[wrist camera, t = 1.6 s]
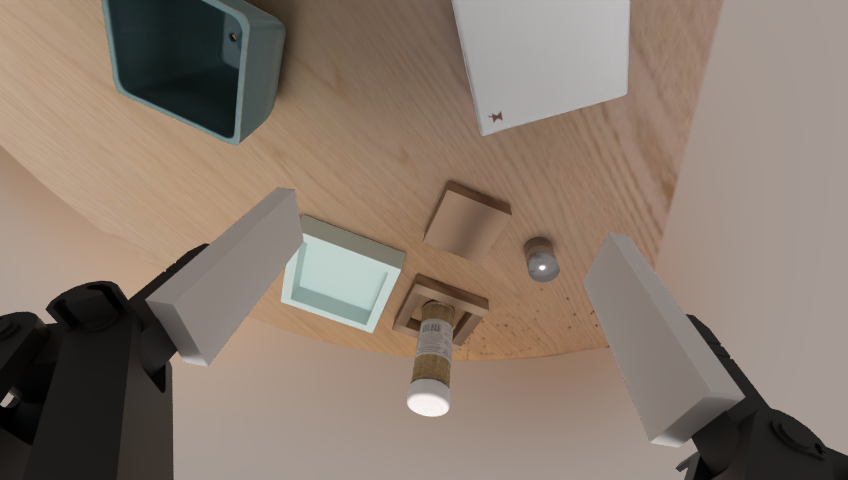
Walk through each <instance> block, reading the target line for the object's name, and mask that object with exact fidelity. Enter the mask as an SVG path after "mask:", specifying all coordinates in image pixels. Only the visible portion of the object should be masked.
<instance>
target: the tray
mask: <svg viewBox="0 0 848 480" xmlns="http://www.w3.org/2000/svg"><path fill="white" fill-rule="evenodd" d="M300 222H301V228H302V234H303V239H304V242H303V243H302V245H301V246H300V247H299V249H298V250H297V251H296V252H295V254H294V255H293V256H292V258H291V259H290V260H289V262H288V263H287V264H286V269H285V276H284V283H283V290H282V297H281V302H283V303H286V304H289V305H292V306H295V307H297V308H300V309H303V310H306V311H309V312H312V313H315V314H318V315H321V316H324V317H327V318H329V319H332V320H335V321H338V322H341V323H344V324H347V325H350V326H353V327H356V328H358V329H361V330H364V331H367V332H370V333H373V330H374V328H375V326H376V324H377V322H378V319H379V317H380V315H381V313H382V311H383V308H384V306H385V304H386V302H387V300H388V297H389V295H390V293H391V291H392V289H393V287H394V284H395V282H396V280H397V278H398V276H399V273H400V271H401V269H402V265H403V262H404V258H405V255H406V253H404V252H401V251H399V250H396V249H393V248H391V247H388V246H386V245H383V244H380V243H378V242H375V241H372V240H370V239H367V238H364V237H362V236H359V235H357V234H354V233H351V232H349V231H346V230H343V229H341V228H338V227H335V226H333V225H330V224H328V223H325V222H322V221H320V220H317V219H314V218H312V217H309V216H306V215H304V214H303V215H302V217H301V218H300Z"/></svg>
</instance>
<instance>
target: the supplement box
mask: <svg viewBox="0 0 848 480" xmlns="http://www.w3.org/2000/svg"><path fill="white" fill-rule="evenodd" d="M451 1H452V6H453V11H454V16H455V21H456V25H457V30H458V35H459V40H460V44H461V49H462V53H463V58H464V62H465V67H466V72H467V76H468V80H469V85H470V89H471V94H472V98H473V103H474V107H475V112H476V116H477V121H478V126H479V131H480V135H481V136H486V135H489V134H493V133H496V132H499V131H503V130H506V129H510V128H513V127H516V126H520V125H523V124H527V123H530V122H533V121H537V120H540V119H543V118H547V117H550V116H554V115H557V114H561V113H565V112H568V111H572V110H575V109H579V108H583V107H586V106H590V105H594V104H597V103H601V102H604V101H608V100H611V99H615V98H618V97H622V96H624V95H626V94H627V87H628V62H629V30H630V0H451Z"/></svg>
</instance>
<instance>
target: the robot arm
mask: <svg viewBox="0 0 848 480" xmlns="http://www.w3.org/2000/svg"><path fill="white" fill-rule="evenodd" d="M303 242H304V239H303V234H302V228H301V222H300V217H299V211H298V205H297V200H296V194H295V189H287V188H280V187H277V188H276V189H275V190H274V191H272V192H271V193H270V194H269V195H268V196H266V197H265V198H264V199H263V200H262V201H261V202H259V203H258V204H257V205H256V206H255V207H253V208H252V209H251V210H250V211H249V212H248V213H246V214H245V215H244V216H243V217H242V218H241V219H239V220H238V221H237V222H236V223H235V224H233V225H232V226H231V227H230V228H229V229H228V230H226V231H225V232H224V233H223V234H222V235H221V236H219V237H218V238H217V239H216V240H215V241H213V242H212V243H211V244H206V243H205V244H202V245H200V246H198V247H196V248H194V249H192V250H190V251H188V252H187V253H186V254H185V255H183V256H182V257H181V258H180V259H178V260H177V261H176V263H173V264H172V265H171V266H170V267H169V268H167V269H166V272H162V273H161V274H160V275H159V276H157V277H156V278H155V279H154V280H152V281H151V282H150V283H149V284H148V285H146V286H145V287H144V288H143V289H142V290H140V291H139V292H138V293H137V294H135V295H134V296H133V297H132V298H130V299H129V300H127V298H126V297H125V295H124V294H123V292H122V291H121V289H120V288H119V286H118V285H117V284H115V283H113V282H111V281H97V282H90V283H86V284H83V285H80V286H77V287H74V288H72V289H70V290H68V291H66V292H64V293H62V294H60V295H59V296H58V297H56V298H55V299H54V300H52V301H51V302H50V304H49V305H48V306H47V308H46V311H47V312H48V313H49V314H50V315H51V316H52V317H53V318H54V319H55V320H56V321H57V323H53V324H44V323H43V321H42V320H41V319H40V318H39V317H38V316H37V315H36V314H34V313H30V312H15V313H11V314H7V315H3V316H0V403H1V402H2V400H3V399H4V398H5V396H6V395H7V393H8V392H9V393H10V394H12V395H13V396H14V398H13V399H12V401H11V402H10V403H9V404H8V405H7V406H6V407H2V406H1V405H0V480H173V404H172V366H171V363H170V361H169V359H170V358H171V357H172V356H173V355H174V354H175V353H176V351H178V353H179V354H180V356H181V357H182V359H183V361H184V362H186V363H192V364H197V365H203V366H209V365H210V363H211V362H212V361H213V359H214V358H215V357H216V355H217V354H218V353H219V351H220V350H221V349H222V348H223V346H224V345H225V344H226V342H227V341H228V340H229V338H230V337H231V336H232V335H233V333H234V332H235V331H236V329H237V328H238V327H239V325H240V324H241V323H242V322H243V320H244V319H245V318H246V316H247V315H248V314H249V312H250V311H251V310H252V309H253V307H254V306H255V305H256V303H257V302H258V301H259V299H260V298H261V297H262V296H263V294H264V293H265V292H266V290H267V289H268V288H269V286H270V285H271V284H272V282H273V281H274V280H275V279H276V277H277V276H278V275H279V273H280V272H281V271H282V269H283V268H284V267H285V266H286V264H287V263H288V262H289V260H290V259H291V258H292V256H293V255H294V254H295V252H296V251H297V250H298V249H299V247H300V246H301V245H302V243H303ZM583 284H584V287H585V289H586V291H587V294H588V296H589V298H590V301H591V303H592V306H593V308H594V310H595V313H596V315H597V317H598V320H599V322H600V325H601V327H602V329H603V332H604V334H605V337H606V339H607V341H608V344H609V346H610V348H611V351H612V353H613V356H614V358H615V360H616V363H617V365H618V367H619V370H620V372H621V374H622V376H623V379H624V382H625V384H626V386H627V389H628V391H629V394H630V396H631V398H632V401H633V403H634V405H635V408H636V410H637V413H638V415H639V417H640V420H641V422H642V424H643V427H644V429H645V432H646V434H647V436H648V439H649V441H650V443H655V444H661V445H667V446H672V447H680V446H681V445H682V444H684V443H685V442H686V441H688V440H689V439H690V438H692V440H693V442H694V444H695V445H696V447H697V449H698V451H697V452H696V453H695V454H693V455H691V456H690V457H688V458H687V459H686V460H684V461H683V462H681V463H680V464H679V465H678V466H677V467H676V469H677V470H678V471H679V472H681V471H682V470H684V469H685V468H688V470H687V473H686V476H685V479H684V480H848V456H847V455H845V454H842V453H840V452H837V451H835V450H833V449H830V448H828V447H825V445H824V444H823V443H822V441H821V440H820V439H819V438H818V437H817V436H816V435H815V434H814V433H813V432H812V431H811V430H810V429H808V427H806V426H805V425H803V424H802V423H800V422H799V421H798V420H796V419H795V418H793V417H791V416H789V415H787V414H785V413H783V412H781V411H779V410H775V409H771V408H770V407H769V406H768V404H767V403H766V402H765V401H764V399H763V398H762V397H761V395H760V394H759V393H758V391H757V390H756V389H755V388H754V386H753V385H752V384H751V382H750V381H749V380H748V378H747V377H746V376H745V374H744V373H743V372H742V371H741V369H740V368H739V367H738V366H737V364H736V363H735V361H734V360H733V359H730V355H729V354H728V352H727V351H726V350H725V348H724V347H722V346H721V343H720V342H719V341H718V339H717V338H716V337H715V335H714V334H713V333H712V332H711V330H710V329H709V328H708V327H707V326H705V325H704V324H703V323H702V322H701V321H699V320H698V319H697V318H696V317H695V316H693V315H688V314H685V313H684V311H683V310H682V309H681V307H680V306H679V305H678V303H677V302H676V300H675V299H674V298H673V296H672V295H671V294H670V292H669V291H668V289H667V288H666V287H665V286H664V284H663V283H662V281H661V280H660V278H659V277H658V276H657V274H656V273H655V271H654V270H653V269H652V267H651V266H650V265H649V263H648V262H647V260H646V259H645V258H644V256H643V255H642V254H641V252H640V251H639V249H638V248H637V247H636V245H635V244H634V242H633V241H632V240H631V238H630V237H629V236H628V235H624V234H617V233H608V235H607V236H606V238H605V240H604V242H603V244H602V246H601V248H600V250H599V252H598V254H597V256H596V258H595V260H594V261H593V263H592V265H591V267H590V269H589V271H588V273H587V275H586V277H585V279H584V281H583Z"/></svg>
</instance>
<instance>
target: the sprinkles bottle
mask: <svg viewBox="0 0 848 480" xmlns="http://www.w3.org/2000/svg"><path fill="white" fill-rule="evenodd" d="M453 318H454V309H453V308H452V306H451V305H448V304H445V303H442V302H440V301H431V302H428V303H427V304H425V306H424V307H423V309H422V320H421V326H420V330H419V335H418V341H417V347H416V349H417V350H416V356H415V364H414V369H413V377H412V381H411V383H410V386H409V390H408V397H407V404H408V406H409V408H410V409H411V410H413V411H414V412H416V413H418V414H421V415H424V416H440V415H443V414H445V413H446V412H447V411H448V410H449V406H450V390H449V389H450V388H449V382H450V379H449V378H450V368H451V355H452V339H453Z"/></svg>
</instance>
